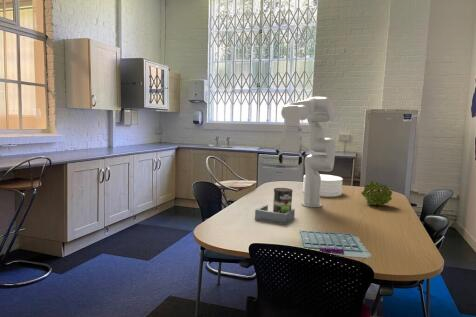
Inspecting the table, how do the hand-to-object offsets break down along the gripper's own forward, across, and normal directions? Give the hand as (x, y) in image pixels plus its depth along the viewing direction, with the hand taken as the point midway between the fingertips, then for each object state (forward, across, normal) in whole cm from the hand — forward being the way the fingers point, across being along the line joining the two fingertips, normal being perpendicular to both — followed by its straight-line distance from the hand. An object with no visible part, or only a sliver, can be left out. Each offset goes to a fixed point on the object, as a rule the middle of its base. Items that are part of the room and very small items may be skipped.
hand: (290, 163), depth 184 cm
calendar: (+31, -26, +24) cm, 47 cm away
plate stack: (+31, -5, -88) cm, 94 cm away
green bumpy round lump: (+31, -43, -64) cm, 83 cm away
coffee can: (+31, +6, -13) cm, 34 cm away
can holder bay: (+30, +7, -3) cm, 31 cm away
